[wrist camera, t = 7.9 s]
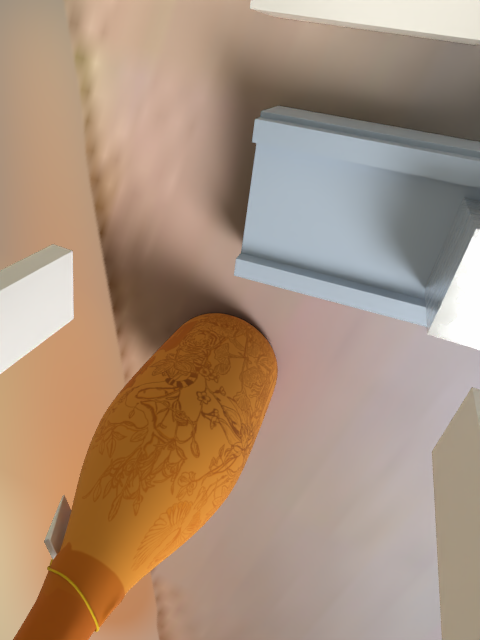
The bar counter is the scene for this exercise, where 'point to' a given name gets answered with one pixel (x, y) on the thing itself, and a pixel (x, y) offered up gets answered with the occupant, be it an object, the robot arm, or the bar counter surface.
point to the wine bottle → (154, 470)
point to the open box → (352, 208)
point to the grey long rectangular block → (457, 281)
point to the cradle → (386, 16)
